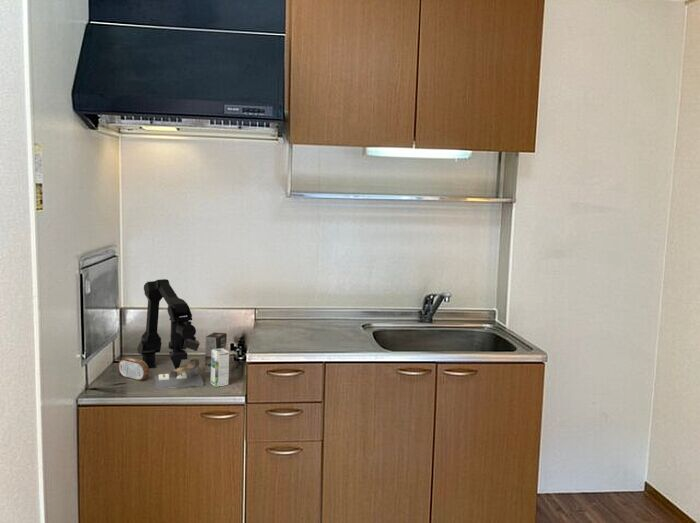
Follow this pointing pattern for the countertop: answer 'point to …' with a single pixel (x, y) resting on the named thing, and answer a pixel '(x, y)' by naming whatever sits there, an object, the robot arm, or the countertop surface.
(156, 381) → the label board
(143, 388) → the countertop surface
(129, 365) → the tin
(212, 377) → the syrup box
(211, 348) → the coffee box
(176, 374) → the bar
